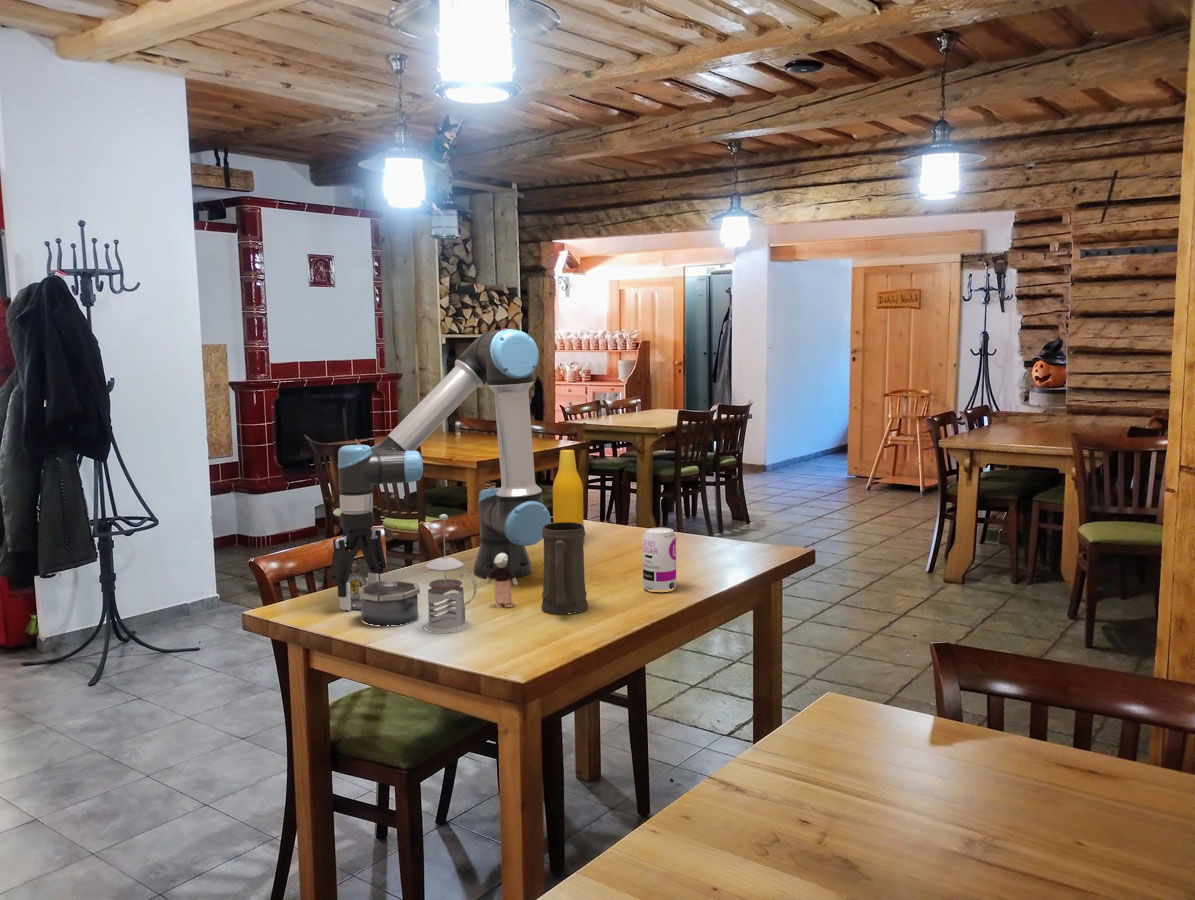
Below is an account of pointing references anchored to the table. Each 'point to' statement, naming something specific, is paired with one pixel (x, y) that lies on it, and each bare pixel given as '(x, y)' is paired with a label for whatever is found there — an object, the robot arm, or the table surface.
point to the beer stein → (564, 568)
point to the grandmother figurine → (502, 581)
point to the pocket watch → (356, 587)
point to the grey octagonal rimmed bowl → (389, 602)
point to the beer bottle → (567, 491)
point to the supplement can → (659, 559)
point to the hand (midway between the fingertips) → (360, 604)
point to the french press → (453, 617)
